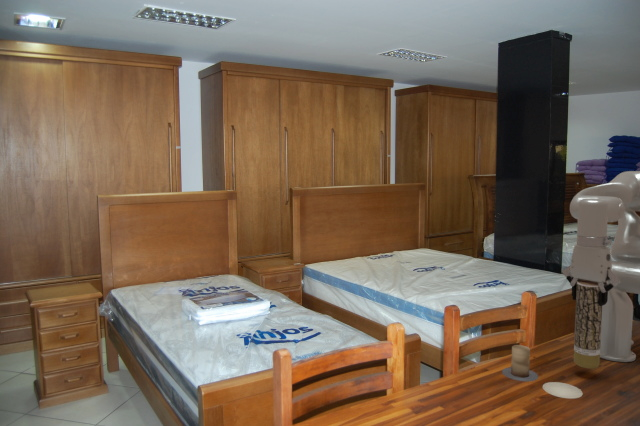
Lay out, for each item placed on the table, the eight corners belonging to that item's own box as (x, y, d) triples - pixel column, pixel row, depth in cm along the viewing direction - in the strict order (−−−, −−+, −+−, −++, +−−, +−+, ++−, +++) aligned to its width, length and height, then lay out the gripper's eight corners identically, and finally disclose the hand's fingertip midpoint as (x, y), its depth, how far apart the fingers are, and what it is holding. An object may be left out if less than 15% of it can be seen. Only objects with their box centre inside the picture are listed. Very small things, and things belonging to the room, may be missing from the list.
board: (516, 367, 157) (516, 363, 157) (591, 394, 138) (591, 390, 138) (493, 376, 150) (493, 373, 150) (568, 407, 131) (568, 402, 131)
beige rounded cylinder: (517, 369, 153) (518, 343, 152) (532, 374, 149) (533, 348, 148) (507, 373, 150) (508, 347, 149) (522, 379, 146) (523, 352, 145)
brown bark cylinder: (602, 370, 144) (606, 285, 141) (577, 368, 145) (580, 285, 142) (595, 360, 151) (598, 279, 148) (570, 359, 152) (573, 279, 149)
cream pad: (554, 379, 146) (554, 379, 146) (589, 392, 137) (589, 391, 137) (535, 388, 140) (535, 388, 140) (570, 402, 132) (570, 401, 132)
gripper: (630, 244, 139) (626, 306, 141) (568, 236, 153) (566, 293, 155) (617, 247, 134) (614, 311, 137) (555, 239, 149) (553, 297, 151)
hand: (588, 301), depth 146 cm, fingers closed on brown bark cylinder, 6 cm apart
